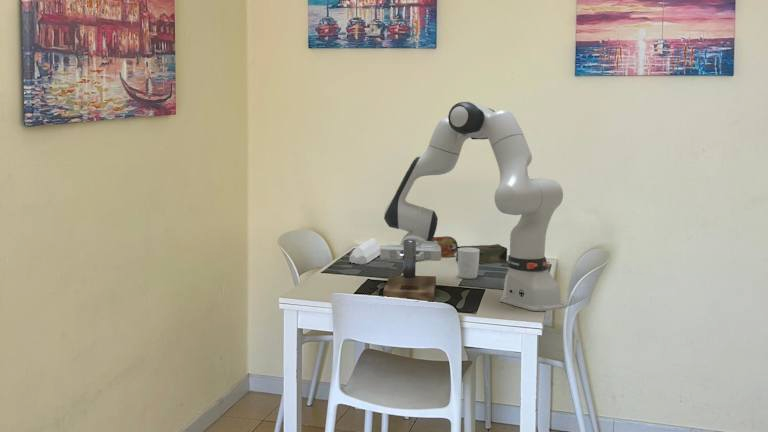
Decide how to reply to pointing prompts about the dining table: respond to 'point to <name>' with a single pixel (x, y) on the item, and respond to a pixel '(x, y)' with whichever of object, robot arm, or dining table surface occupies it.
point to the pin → (409, 258)
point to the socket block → (411, 287)
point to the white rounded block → (365, 252)
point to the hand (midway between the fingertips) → (409, 257)
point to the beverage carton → (489, 253)
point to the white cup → (468, 262)
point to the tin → (446, 245)
